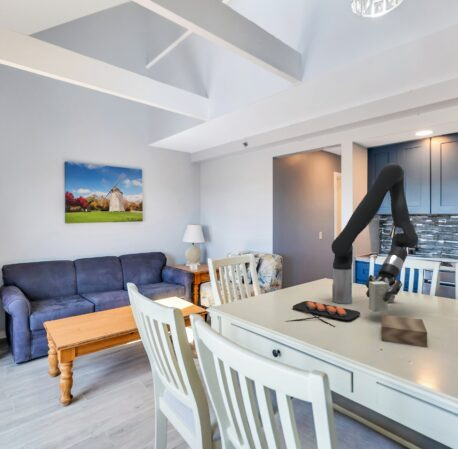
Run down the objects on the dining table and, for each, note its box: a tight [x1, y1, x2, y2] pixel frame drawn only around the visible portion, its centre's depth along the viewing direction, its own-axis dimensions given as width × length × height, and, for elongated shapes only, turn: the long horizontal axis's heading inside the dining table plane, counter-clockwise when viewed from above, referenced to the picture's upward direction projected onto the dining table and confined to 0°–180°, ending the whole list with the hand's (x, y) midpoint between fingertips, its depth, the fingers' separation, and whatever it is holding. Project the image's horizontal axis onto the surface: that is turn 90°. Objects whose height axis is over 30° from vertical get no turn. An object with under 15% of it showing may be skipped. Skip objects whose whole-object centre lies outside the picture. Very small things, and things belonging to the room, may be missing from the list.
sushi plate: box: [284, 300, 361, 328], centre depth 141 cm, size 29×30×4 cm
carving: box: [388, 284, 396, 304], centre depth 161 cm, size 6×8×12 cm
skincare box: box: [368, 281, 389, 313], centre depth 134 cm, size 6×4×12 cm
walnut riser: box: [380, 314, 428, 347], centre depth 117 cm, size 14×14×5 cm
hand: (376, 298), depth 133 cm, fingers closed on skincare box, 7 cm apart
